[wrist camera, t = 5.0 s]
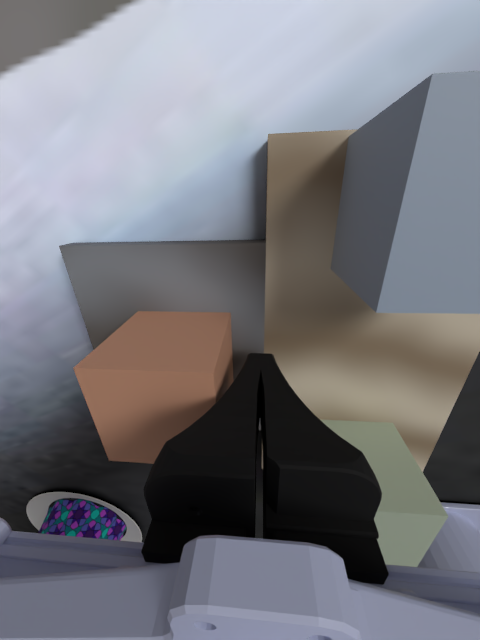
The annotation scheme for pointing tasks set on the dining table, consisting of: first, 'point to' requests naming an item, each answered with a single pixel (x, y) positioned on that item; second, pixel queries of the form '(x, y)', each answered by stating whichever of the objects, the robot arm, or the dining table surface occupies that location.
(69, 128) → the dining table surface
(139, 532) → the patterned fedora hat
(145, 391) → the terracotta block
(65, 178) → the dining table surface
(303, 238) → the board
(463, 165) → the blue block
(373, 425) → the sage block
